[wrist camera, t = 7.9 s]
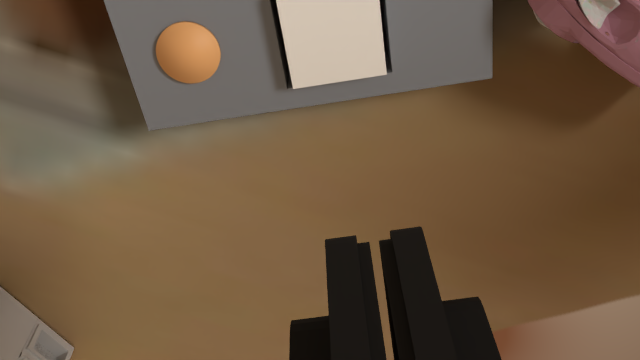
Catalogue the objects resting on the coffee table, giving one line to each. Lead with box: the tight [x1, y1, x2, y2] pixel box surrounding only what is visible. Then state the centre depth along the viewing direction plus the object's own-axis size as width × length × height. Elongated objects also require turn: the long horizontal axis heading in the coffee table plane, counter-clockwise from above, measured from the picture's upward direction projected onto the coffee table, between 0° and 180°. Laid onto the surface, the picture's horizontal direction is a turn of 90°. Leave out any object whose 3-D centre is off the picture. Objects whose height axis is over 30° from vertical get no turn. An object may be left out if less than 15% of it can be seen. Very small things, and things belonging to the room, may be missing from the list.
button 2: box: [276, 0, 387, 89], centre depth 23 cm, size 4×4×3 cm
